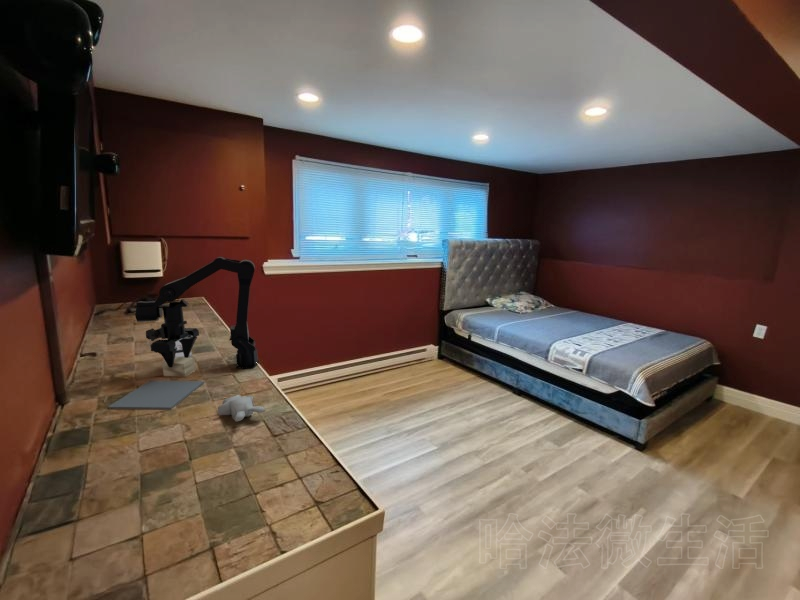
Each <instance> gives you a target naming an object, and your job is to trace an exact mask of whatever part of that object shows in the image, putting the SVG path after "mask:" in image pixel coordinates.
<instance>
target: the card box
mask: <svg viewBox="0 0 800 600" xmlns="http://www.w3.org/2000/svg"><path fill="white" fill-rule="evenodd" d="M195 363H196V362H195V357H192V358H182V357H175V359H174V364H173V367H169V366H168V365H167V363H166V361H165V360H164V361H162V362H161V364H162V373H163V377H179V378H180V377H183V378H186V377H187V376H189V375H191V374H193V373H194V372H196V364H195ZM192 372H193V373H192Z"/></svg>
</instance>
